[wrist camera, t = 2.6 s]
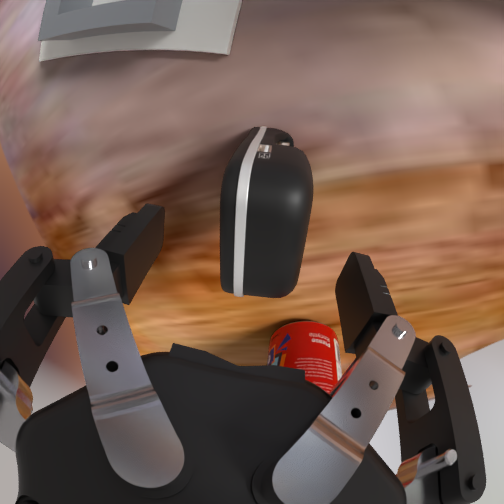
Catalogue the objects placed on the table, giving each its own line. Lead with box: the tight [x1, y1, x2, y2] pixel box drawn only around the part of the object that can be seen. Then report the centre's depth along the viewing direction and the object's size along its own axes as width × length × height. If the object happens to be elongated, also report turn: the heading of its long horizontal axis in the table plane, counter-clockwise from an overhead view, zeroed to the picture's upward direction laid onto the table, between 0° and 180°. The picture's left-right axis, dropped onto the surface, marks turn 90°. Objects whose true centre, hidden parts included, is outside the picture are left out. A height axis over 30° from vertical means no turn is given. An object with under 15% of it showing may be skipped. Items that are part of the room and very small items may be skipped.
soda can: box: [267, 321, 342, 393], centre depth 25 cm, size 8×8×15 cm
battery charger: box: [220, 126, 313, 298], centre depth 16 cm, size 7×4×11 cm, turn 177°
